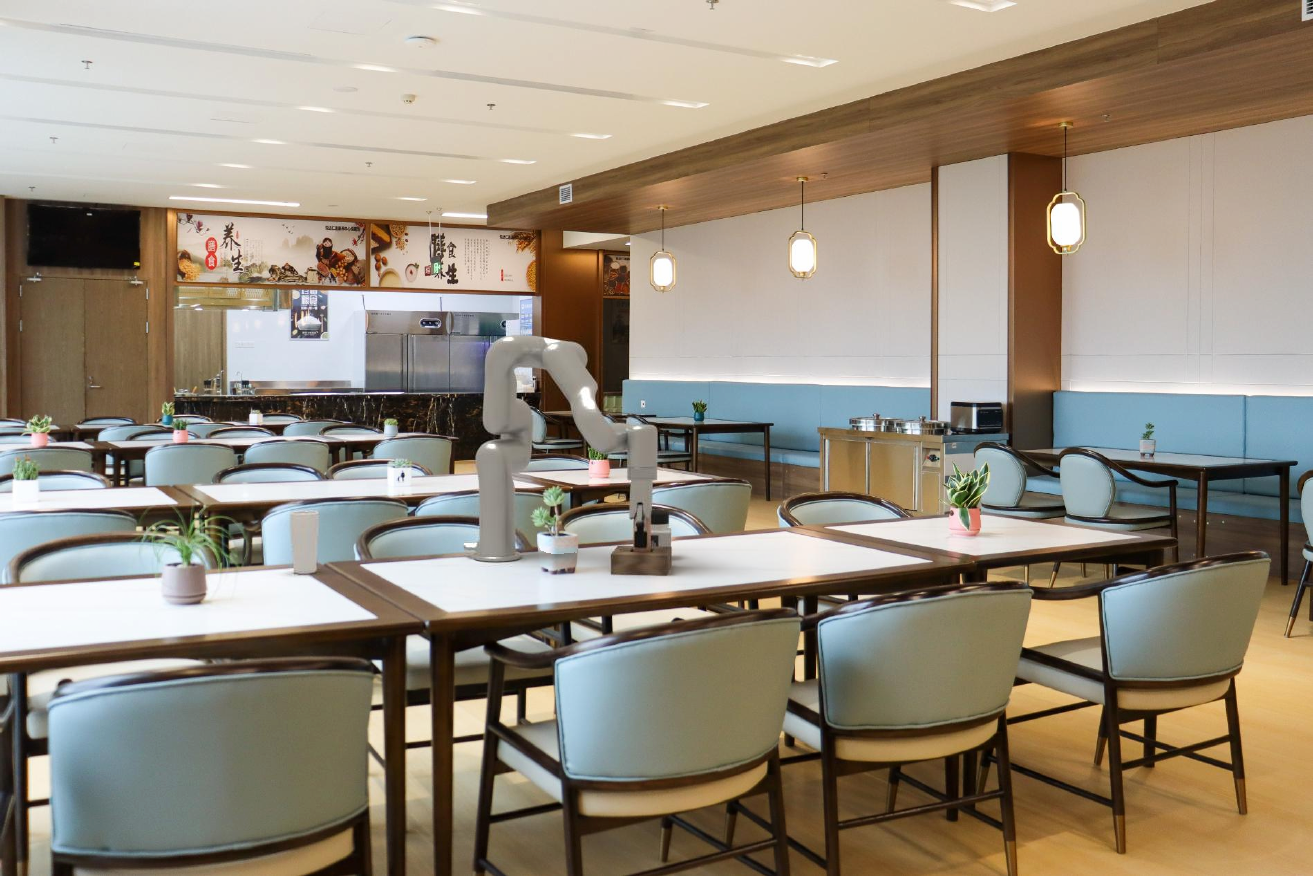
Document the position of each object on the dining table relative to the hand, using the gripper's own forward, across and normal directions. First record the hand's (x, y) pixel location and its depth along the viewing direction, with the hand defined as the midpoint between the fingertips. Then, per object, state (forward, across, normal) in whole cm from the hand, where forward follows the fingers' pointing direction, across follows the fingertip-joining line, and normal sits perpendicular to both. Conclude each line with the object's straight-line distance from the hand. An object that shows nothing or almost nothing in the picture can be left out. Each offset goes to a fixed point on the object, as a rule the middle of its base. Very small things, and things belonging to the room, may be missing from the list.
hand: (641, 545), depth 292 cm
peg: (+4, 0, 0) cm, 4 cm away
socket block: (+6, 0, 0) cm, 6 cm away
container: (+7, -19, +2) cm, 20 cm away
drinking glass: (+7, +14, -82) cm, 83 cm away
